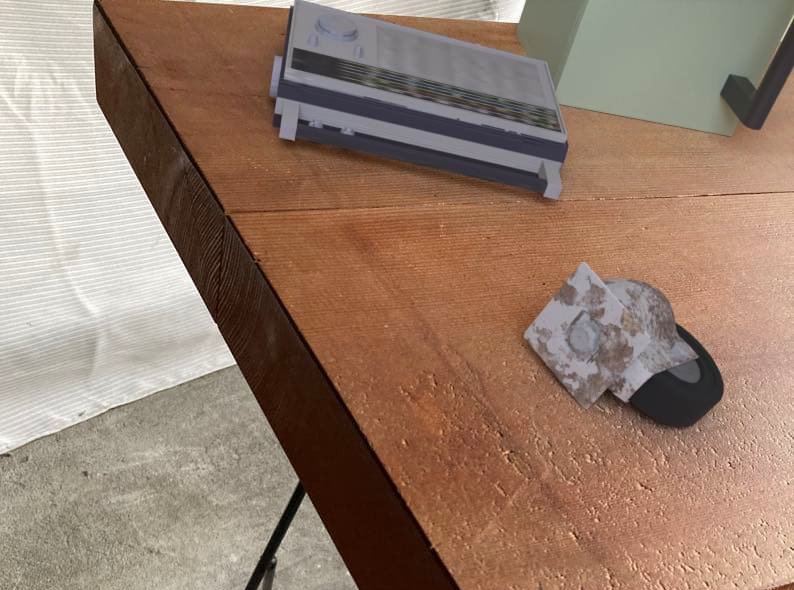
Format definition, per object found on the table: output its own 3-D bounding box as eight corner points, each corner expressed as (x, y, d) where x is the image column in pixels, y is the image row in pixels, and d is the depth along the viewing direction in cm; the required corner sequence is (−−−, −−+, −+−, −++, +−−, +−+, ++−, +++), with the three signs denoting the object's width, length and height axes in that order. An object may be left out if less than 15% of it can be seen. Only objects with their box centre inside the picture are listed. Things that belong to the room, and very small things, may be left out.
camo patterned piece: (696, 433, 69) (625, 467, 62) (595, 316, 71) (517, 336, 65) (767, 369, 64) (699, 398, 57) (656, 246, 67) (578, 260, 60)
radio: (550, 51, 90) (582, 155, 76) (531, 107, 94) (558, 216, 80) (286, -16, 85) (270, 82, 72) (276, 46, 89) (260, 150, 76)
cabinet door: (757, 172, 96) (891, -74, 80) (569, 138, 90) (673, -132, 75) (728, 132, 101) (848, -106, 85) (549, 98, 96) (642, -162, 80)
